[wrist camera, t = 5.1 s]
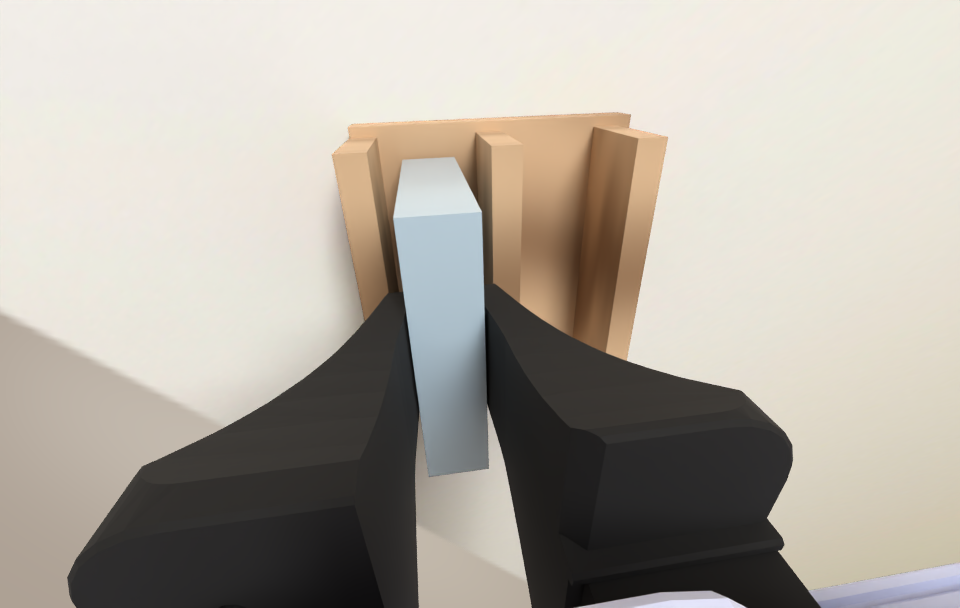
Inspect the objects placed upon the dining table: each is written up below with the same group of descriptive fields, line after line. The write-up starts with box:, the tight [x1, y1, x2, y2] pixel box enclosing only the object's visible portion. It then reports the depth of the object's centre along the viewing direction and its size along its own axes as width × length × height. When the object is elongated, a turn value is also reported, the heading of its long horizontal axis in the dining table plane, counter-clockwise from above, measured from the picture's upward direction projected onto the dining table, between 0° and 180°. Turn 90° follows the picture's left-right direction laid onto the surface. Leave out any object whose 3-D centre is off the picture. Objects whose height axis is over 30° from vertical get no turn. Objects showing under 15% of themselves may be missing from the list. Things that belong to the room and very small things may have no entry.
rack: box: [332, 113, 668, 361], centre depth 14 cm, size 9×9×4 cm
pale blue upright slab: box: [393, 157, 489, 477], centre depth 12 cm, size 7×2×6 cm, turn 2°
